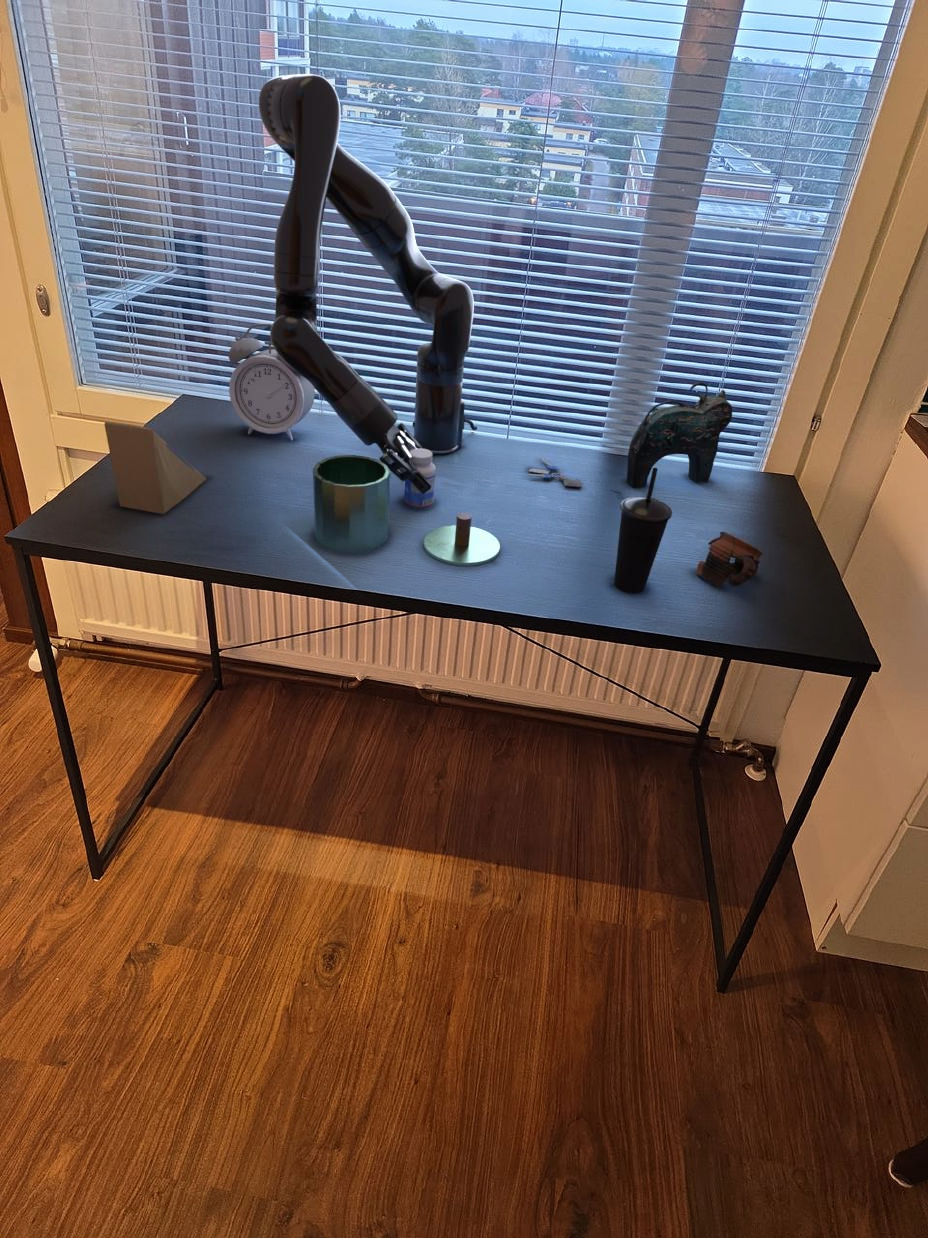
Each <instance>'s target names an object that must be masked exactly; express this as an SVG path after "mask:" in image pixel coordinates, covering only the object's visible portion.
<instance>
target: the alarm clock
mask: <svg viewBox="0 0 928 1238" xmlns="http://www.w3.org/2000/svg"><path fill="white" fill-rule="evenodd" d="M272 325H273V323H272V324H271V323H256V324H252V325H251V326H250V327H249V328H247V330H246V332H245V333H244V335H242V336H240V337H239V336H235V338H234V340H235V342H234V344H232V346H231V347H230V348H229V351H228V359H229V362H230V363H231V365H232V366H233V365H236V364H237V363H238V364H237V366H236V367H235V368H234V370H233V371H232V373H231V377H230V379H229V386H228V393H229V400H230V402H231V406H232V407H233V409H234V412H235V413H236V414H237V416H238V417H239V419H240V420H241V421H242V422H243V423H245V424H246V426H248V427H249V428H248V432H247V434H248V435H251V434H252V433H253V431H257V432H260V433H264V434H268V435H277V434H281V433H286V436H288V438H289V440H290V441H293V440H294V438H293V435H292V431H291V428H293V427H294V426H295V425H297V424H298V423H299V422H301V421H302V420H303V419H305V418H306V416H307V415H308V414H309V413H310V412H311V410H312V407H313V405H314V402H315V395H316V389H315V388H314V387H313V385H312V384H311V383H310V382H309V381H308V380H307V379H305V378H304V377H303V376H302V375H301V374H299V373H298V372H297V371H296V370H295V369H294V368H292V367H291V366H290V365H289V364H288V363H287V362H286V361H285V360H284V359H283V358H282V357H281V356H280V355H279V354H278V352H277V351H276V350H275V348H272V346H273V345H272V342H271V341H270V340H265V341H264V344H265V345H267V346H268V348H267V349H264V350H262V351H260V350H261V349H263V348H264V346H263V344H262V343H261V342H260V341H259V340H258V339H256V338H255V337H247V336H248V335H249V333H250V331H251V330H252V329H253V328H257V327H272ZM258 351H259V352H258ZM256 352H257V353H256ZM239 362H240V363H239Z"/></svg>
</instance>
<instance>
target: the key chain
mask: <svg viewBox="0 0 928 1238" xmlns="http://www.w3.org/2000/svg"><path fill="white" fill-rule="evenodd" d="M540 459H541V460H542V461H543V462H544V463H545V464H546V465H547V466H546V468H547V470H545V469H539V468H533V467H532V468H530V469H529V472H530V473H528V476H529V477H539V478H543V479H556V480H557V479H558V480H561V481H563V486H565V487H572V488H573V487H574V488H581V487H582V484H581V480H580V479H577V478H569V477H566V476H564V475H563V474H562V470H561V469H560V468H559V467H558V466H555V465H552V464H551V463H550V462H549V461H547V460H546V459H545V458H544V457H540ZM552 470H553V471H557V470H558V471H560V472H553V473H550V471H552Z"/></svg>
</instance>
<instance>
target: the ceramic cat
mask: <svg viewBox="0 0 928 1238" xmlns="http://www.w3.org/2000/svg"><path fill="white" fill-rule="evenodd" d="M697 386H704V387H705V394H701V393H699V392H698V393H697V396H698V398H699V399H698V400H697V402H696V404H695V405H692V404H691V405H689V404H686V403H683V402H680V401H677V400H668V401H664V402H659V403H657V404H655V405H653V406H652V407H651V408H650V409H649V411H648V412H647V413H646V415H645V417H644V419H643V420H642V421H641V422H640V424H639V425H638V427H637V429H636V431H635V432H633V433H634V434H633V436H632V437H631V440H630V443H629V448H628V452H627V469H626V472H627V473H626V483H627V484H628V485H630V486H631V487H632V488H642V487H643V488H644V487H646V486H647V483H648V478H649V476H650V474H651V472H652V470H653V468H654V466H655V465H656V464H657V463H658V462H659V461H660V460H661V459H664V458H665V457H667V456H672V455H686V456H687V458H688V478H689V479H690V480H692V481H693V482H694V483H700V482H709V481H710V477H711V475H712V471H713V468H714V467H713V466H714V464H715V463H714V462H715V459H716V456H717V453H718V447H719V441H720V435H721V433H722V432H723V431H724V430H725V429H726V428H727V427H728V426H729V425H730V423H731V421H732V418H733V408H734V407H733V406H732V404H731V403H730V402H729V401H728V399H727V397H726V396H727V395H726V391H725V390H724V389H722V390H721V391H720V393H719V394H718V395H717V394H716V395H708V392H709V388H708V386H707V384H705V383H704V382H701V381H699V382H695V383H693V384H692V385H690V388H689V390H690V391H692V390H693V389H695V388H696V387H697ZM668 404H675V405H671V406H667V407H666V406H665V407H661V406H664V405H668ZM658 407H661V408H658ZM657 408H658V409H657ZM655 409H656V410H655Z"/></svg>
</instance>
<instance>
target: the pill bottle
mask: <svg viewBox="0 0 928 1238" xmlns="http://www.w3.org/2000/svg"><path fill="white" fill-rule="evenodd" d="M410 454H411V456H412V462H413V464H414V465H415V467H416V468H417V470H418V471H419V472H420V473H421V474H422V475H423V476H424V477H425V478H426V479H427V480H428V481H429V482H430V483H431V485H432V486H431V489H430V490H428V491H427V492H426V493H424V494H422V493H421V492H420V491H419V490H418V489H417V488H416V487H415V486H414V485H413V483H412V482H411V481H410V480H409V479H408V480H405V481H404V489H403V492H404V493H403V500H404V503H406V504H407V505H409V506H411V507H417V508H425V507H430V506H431V505H433V504H434V502H435V489H436V488H435V487H436V473H437V472H436V471H437V470H436V465H435V464H434V463H433V454H432V452H431V451H430V450H427V449H422V448H418V449H413V450H411V451H410ZM407 465H408V464H407ZM408 466H409V465H408Z"/></svg>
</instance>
